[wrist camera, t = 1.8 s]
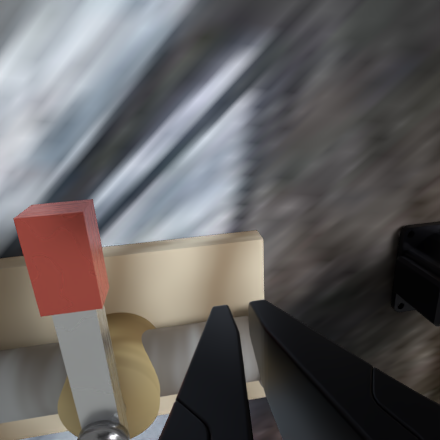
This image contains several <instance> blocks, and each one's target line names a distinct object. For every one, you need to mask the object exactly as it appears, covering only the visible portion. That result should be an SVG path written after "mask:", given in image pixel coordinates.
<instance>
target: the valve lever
mask: <svg viewBox="0 0 440 440" xmlns="http://www.w3.org/2000/svg"><path fill="white" fill-rule="evenodd" d="M14 223H15V226H16V230H17V234H18V237H19V241H20V244H21V248H22V252H23V255H24V259H25V262H26V266H27V270H28V273H29V277H30V280H31V284H32V288H33V291H34V295H35V299H36V302H37V306H38V309H39V313H40V317H42V316H50V315H52V319H53V322H54V326H55V330H56V334H57V337H58V341H59V345H60V349H61V353H62V356H63V360H64V364H65V368H66V372H67V375H68V379H69V383H70V387H71V391H72V394H73V398H74V402H75V406H76V410H77V413H78V417H79V421H80V425H81V429H82V430H81V432H80V433H79V435H78V439H77V440H129V439H130V436H129V432H128V429H129V427H128V422H127V417H126V405H125V404H124V402H123V397H122V392H121V387H120V382H119V377H118V372H117V367H116V362H115V357H114V352H113V347H112V342H111V337H110V332H109V327H108V322H107V317H106V312H105V307H104V302H105V299H106V296H107V293H108V289H109V283H108V277H107V272H106V267H105V261H104V256H103V251H102V246H101V240H100V235H99V230H98V225H97V219H96V214H95V209H94V204H93V199H91V200H80V201H69V202H58V203H48V204H37V205H31V206H30V207H28V208H27V209H26V210H24V211H23V212H22V213H20V214H19V215H18V216H16V217H15V218H14Z"/></svg>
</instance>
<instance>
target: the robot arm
mask: <svg viewBox="0 0 440 440" xmlns="http://www.w3.org/2000/svg"><path fill="white" fill-rule="evenodd" d="M410 231H411V232H410ZM409 232H410V234H409V235H408V233H409ZM399 304H400V305H399ZM398 305H399V306H398ZM391 307H392V308H393V309H394V310H395V311H397V312H404V311H411V310H417V311H418V312H419V313H420V314H422V315H423V316H424V317H425V318H426V319H428V320H429V321H430V322H431V323H433V324H434V325H435V326H440V222H433V223H424V224H416V225H408V226H405V227H404V228H402V230H401V232H400V238H399V246H398V254H397V260H396V268H395V275H394V283H393V292H392V300H391ZM248 312H249V333H250V338H251V342H252V346H253V350H254V354H255V358H256V361H257V365H258V369H259V373H260V377H261V381H262V385H263V388H264V392H265V395H266V398H267V400H268V403H269V406H270V408H271V411H272V413H273V416H274V419H275V421H276V424H277V426H278V429H279V431H280V434H281V437H282V439H283V440H440V404H438V403H436V402H434V401H432V400H430V399H429V398H427V397H425V396H423V395H421V394H419V393H417V392H416V391H414V390H412V389H411V388H409V387H407V386H405V385H404V384H402V383H400V382H399V381H397V380H395V379H393V378H392V377H390V376H388V375H387V374H385V373H384V372H382V371H380V370H379V369H377V368H373V366H372V365H370V364H369V363H367V362H365V361H364V360H362V359H361V358H359V357H357V356H356V355H354V354H352V353H351V352H349V351H348V350H346V349H344V348H343V347H341V346H339V345H338V344H336V343H334V342H333V341H331V340H330V339H328V338H326V337H325V336H323V335H321V334H320V333H318V332H317V331H315V330H313V329H312V328H310V327H308V326H307V325H305V324H304V323H302V322H300V321H299V320H297V319H295V318H294V317H292V316H291V315H289V314H287V313H286V312H284V311H282V310H281V309H279V308H278V307H276V306H274V305H273V304H271V303H269V302H268V301H266V300H256V301H251V302H249V305H248ZM158 440H253V433H252V425H251V418H250V410H249V402H248V394H247V386H246V378H245V370H244V362H243V355H242V347H241V339H240V333H239V330H238V327H237V325H236V322H235V320H234V317H233V315H232V313H231V310H230V308H229V306H228V305H220V306H214V307H212V309H211V311H210V314H209V316H208V319H207V322H206V324H205V327H204V329H203V332H202V334H201V337H200V339H199V342H198V344H197V347H196V349H195V352H194V354H193V357H192V359H191V362H190V364H189V367H188V369H187V372H186V374H185V377H184V379H183V382H182V384H181V387H180V390H179V392H178V395H177V397H176V402H174V404H173V407H172V409H171V412H170V414H169V417H168V419H167V421H166V424H165V426H164V428H163V430H162V433H161V435H160V437H159V439H158Z"/></svg>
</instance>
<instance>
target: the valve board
mask: <svg viewBox="0 0 440 440" xmlns="http://www.w3.org/2000/svg"><path fill="white" fill-rule="evenodd" d="M102 251H103V256H104V261H105V267H106V272H107V277H108V283H109V289H108V293H107V296H106V299H105V302H104V307H105V312H106V317H107V322H108V327H109V332H110V337H111V342H112V347H113V352H114V357H115V362H116V367H117V372H118V377H119V382H120V387H121V392H122V397H123V402H124V404H125V405H126V417H127V422H128V427H129V429H128V432H129V436H130V439H131V438H133V437H135V436H137V435H139V434H141V433H142V432H143V431H145V430H146V429H147V428H148V427H149V426H150V425H151V424H152V423H153V421H154V420H155V418H156V416H158V415H164V414H170V412H171V409H172V407H173V404H174V402H176V397H177V395H178V392H179V390H180V387H181V384H182V382H183V379H184V377H185V374H186V372H187V369H188V367H189V364H190V362H191V359H192V357H193V354H194V352H195V349H196V347H197V344H198V342H199V339H200V337H201V334H202V332H203V329H204V327H205V324H206V322H207V319H208V316H209V314H210V311H211V309H212V307H214V306H220V305H228V306H229V308H230V310H231V313H232V315H233V317H234V320H235V322H236V325H237V327H238V330H239V333H240V339H241V347H242V355H243V362H244V370H245V378H246V386H247V394H248V400H251V399H257V398H263V397H266V395H265V392H264V388H263V385H262V381H261V377H260V373H259V369H258V365H257V361H256V358H255V354H254V350H253V346H252V342H251V338H250V333H249V312H248V305H249V302H251V301H256V300H264V263H263V238H262V237H261V236H260V234H259V233H258V231H257V230H255V231H246V232H236V233H227V234H218V235H209V236H200V237H191V238H182V239H173V240H163V241H154V242H145V243H136V244H127V245H118V246H109V247H102ZM81 430H82V429H81V425H80V421H79V417H78V413H77V410H76V406H75V402H74V398H73V394H72V391H71V387H70V383H69V379H68V375H67V372H66V368H65V364H64V360H63V356H62V353H61V349H60V345H59V341H58V337H57V334H56V330H55V326H54V322H53V319H52V315H50V316H42V317H40V313H39V309H38V306H37V302H36V299H35V295H34V291H33V288H32V284H31V280H30V277H29V273H28V270H27V266H26V262H25V259H24V256H17V257H8V258H0V440H19V439H24V438H30V437H36V436H42V435H48V434H53V433H59V432H65V431H70V432H71V433H72V434H74V435H75V436H77V437H78V435H79V433H80V432H81Z"/></svg>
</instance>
